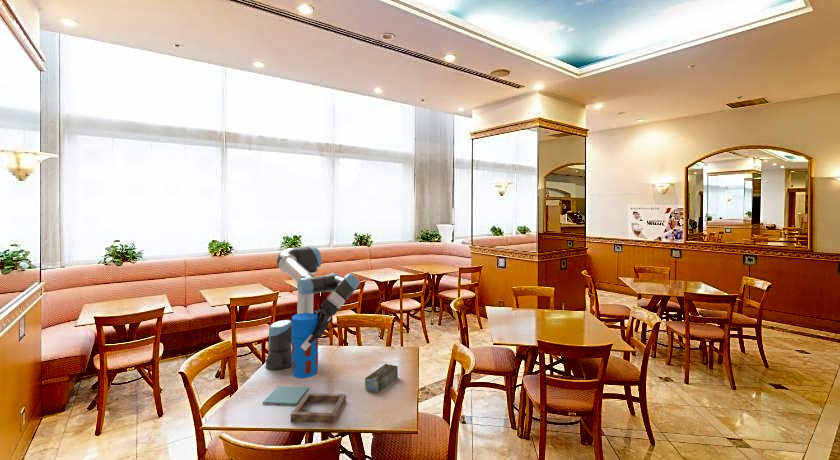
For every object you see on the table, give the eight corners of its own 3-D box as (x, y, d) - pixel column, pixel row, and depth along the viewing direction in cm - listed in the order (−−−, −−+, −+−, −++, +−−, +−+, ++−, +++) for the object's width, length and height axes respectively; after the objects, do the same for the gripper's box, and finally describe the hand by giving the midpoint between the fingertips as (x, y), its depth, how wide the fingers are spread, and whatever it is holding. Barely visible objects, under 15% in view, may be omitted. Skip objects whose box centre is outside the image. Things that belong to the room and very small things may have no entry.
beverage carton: (364, 389, 181) (364, 376, 180) (385, 374, 198) (385, 362, 197) (378, 393, 177) (378, 379, 177) (398, 377, 194) (398, 365, 194)
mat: (262, 404, 166) (262, 401, 166) (277, 388, 181) (277, 386, 181) (296, 405, 165) (296, 403, 165) (308, 389, 180) (308, 387, 180)
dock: (290, 421, 153) (290, 414, 152) (306, 399, 171) (306, 392, 170) (334, 423, 152) (334, 415, 151) (346, 400, 170) (346, 394, 169)
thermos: (321, 368, 170) (321, 313, 168) (312, 379, 159) (312, 320, 157) (298, 367, 171) (297, 312, 169) (287, 377, 160) (287, 319, 158)
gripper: (349, 314, 163) (314, 358, 155) (328, 303, 181) (295, 341, 173) (337, 304, 159) (301, 348, 151) (317, 293, 178) (283, 332, 170)
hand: (298, 344), depth 162 cm, fingers closed on thermos, 11 cm apart
